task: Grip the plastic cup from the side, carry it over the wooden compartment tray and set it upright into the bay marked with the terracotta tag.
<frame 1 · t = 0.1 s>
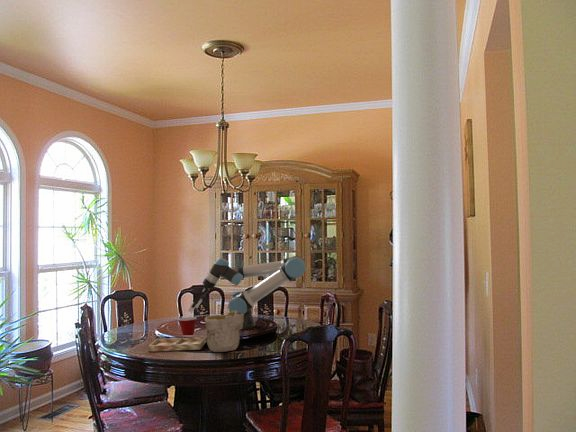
hand: (192, 309, 304), 15 cm above the table, tool tilted 35°, fingers open, 13 cm apart
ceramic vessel: (223, 348, 268), on the table
wooden compartment tray: (178, 346, 276), on the table
plastic cup: (188, 338, 295), on the table
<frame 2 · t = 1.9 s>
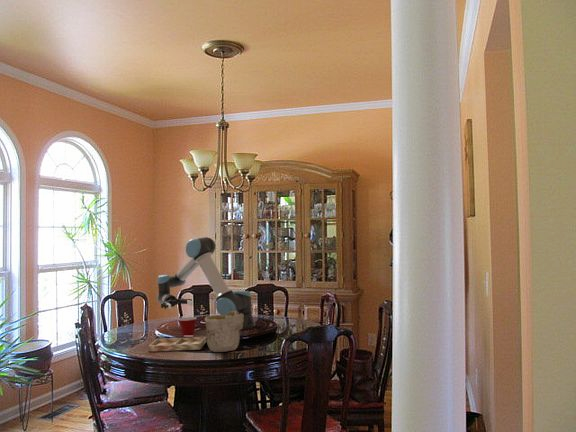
hand: (181, 305, 303), 18 cm above the table, tool horizontal, fingers open, 13 cm apart
nothing on the table moved.
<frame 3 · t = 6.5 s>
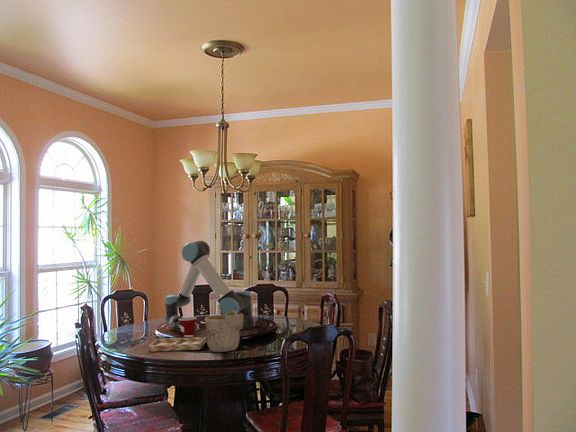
hand: (190, 328, 291), 7 cm above the table, tool horizontal, fingers closed on plastic cup, 9 cm apart
plastic cup: (188, 338, 295), on the table, touching gripper
everything else where it was.
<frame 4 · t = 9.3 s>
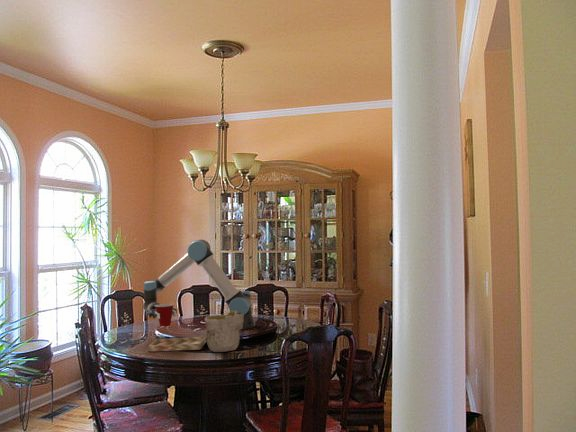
hand: (167, 315, 275), 18 cm above the table, tool horizontal, fingers closed on plastic cup, 9 cm apart
plastic cup: (165, 325, 279), point 12 cm above the table, touching gripper
everything else where it was.
when the fingers open (9 cm above the table, at t = 12.2 s): plastic cup moves 3 cm, resting on wooden compartment tray.
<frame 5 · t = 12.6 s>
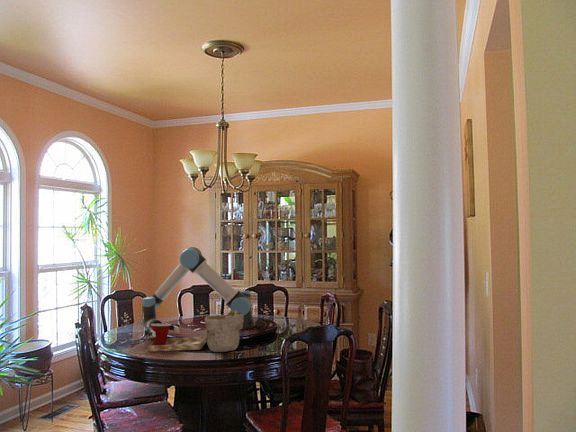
hand: (166, 332, 274), 9 cm above the table, tool horizontal, fingers open, 13 cm apart
plastic cup: (160, 345, 276), point 1 cm above the table, touching wooden compartment tray, gripper
everything else where it was.
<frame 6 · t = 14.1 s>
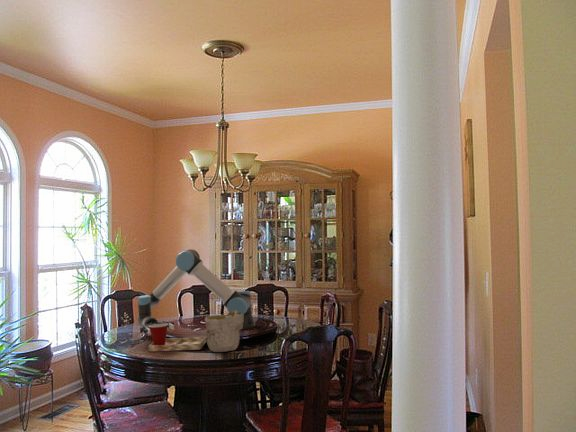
hand: (162, 329, 280), 9 cm above the table, tool horizontal, fingers open, 13 cm apart
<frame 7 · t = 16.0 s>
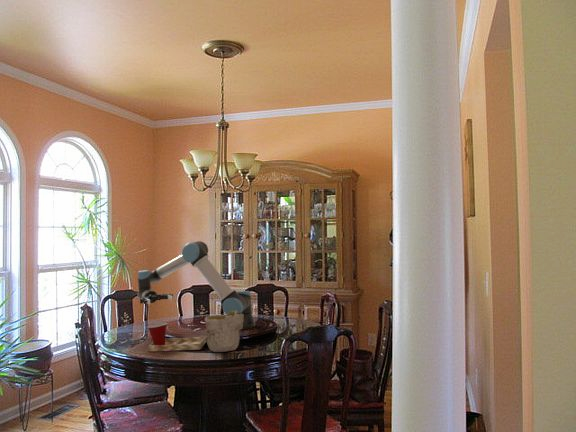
hand: (161, 300, 290), 24 cm above the table, tool horizontal, fingers open, 13 cm apart
plastic cup: (160, 345, 276), point 1 cm above the table, touching wooden compartment tray
everything else where it was.
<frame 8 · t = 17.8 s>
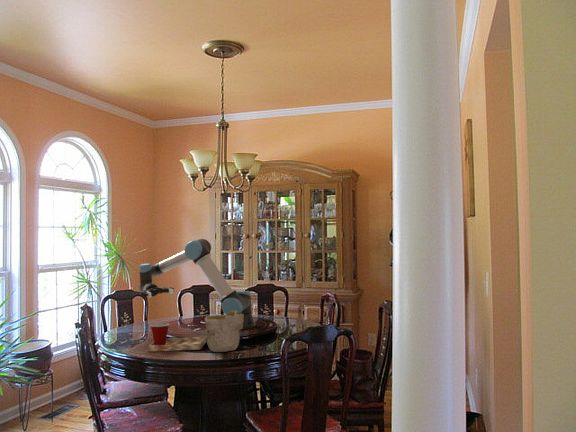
hand: (162, 293, 291), 28 cm above the table, tool horizontal, fingers open, 13 cm apart
at the end: plastic cup 3.0 cm from the target spot on the wooden compartment tray, point 1.0 cm above the wooden compartment tray's base; plastic cup tilted 3°; the gripper is holding nothing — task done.
